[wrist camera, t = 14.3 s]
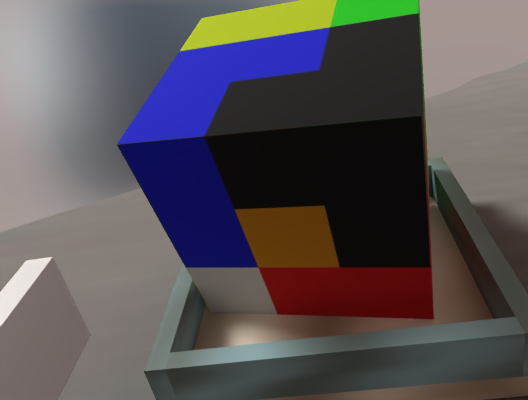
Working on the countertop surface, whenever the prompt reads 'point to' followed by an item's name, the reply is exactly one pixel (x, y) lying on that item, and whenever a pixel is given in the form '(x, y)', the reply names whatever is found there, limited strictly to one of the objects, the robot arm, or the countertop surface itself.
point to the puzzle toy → (295, 160)
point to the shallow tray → (362, 333)
